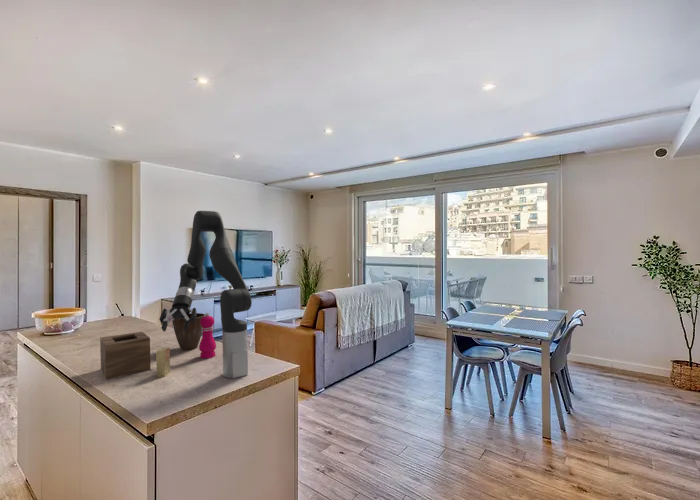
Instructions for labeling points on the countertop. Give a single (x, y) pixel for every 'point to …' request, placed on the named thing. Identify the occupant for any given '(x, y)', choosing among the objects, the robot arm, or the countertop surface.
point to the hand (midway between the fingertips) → (174, 330)
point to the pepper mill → (207, 337)
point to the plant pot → (188, 332)
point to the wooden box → (125, 354)
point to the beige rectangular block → (163, 361)
